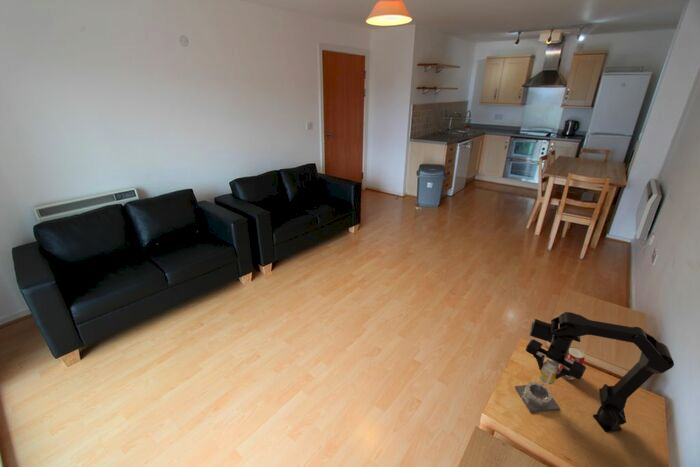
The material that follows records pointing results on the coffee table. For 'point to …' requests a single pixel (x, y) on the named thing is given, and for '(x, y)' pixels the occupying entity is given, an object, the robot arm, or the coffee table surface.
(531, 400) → the collar
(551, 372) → the supplement bottle
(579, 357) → the soda can
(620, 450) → the coffee table surface
